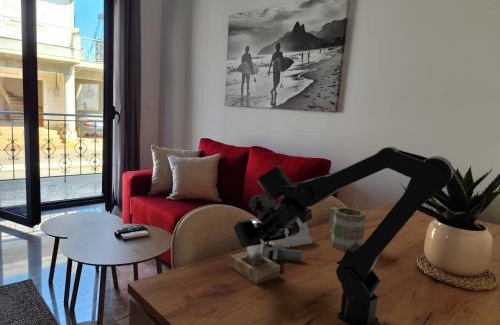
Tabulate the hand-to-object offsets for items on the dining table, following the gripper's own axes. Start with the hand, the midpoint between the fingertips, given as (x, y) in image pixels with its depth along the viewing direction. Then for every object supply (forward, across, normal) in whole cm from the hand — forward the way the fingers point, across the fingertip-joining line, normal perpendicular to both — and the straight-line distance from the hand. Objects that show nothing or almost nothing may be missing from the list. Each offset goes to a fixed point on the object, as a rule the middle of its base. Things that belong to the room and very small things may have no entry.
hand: (252, 242), depth 92 cm
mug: (+5, -40, +6) cm, 41 cm away
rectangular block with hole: (+4, 0, +6) cm, 8 cm away
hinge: (+12, -24, -1) cm, 27 cm away
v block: (+5, -11, +6) cm, 13 cm away
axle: (+4, 0, +6) cm, 8 cm away
